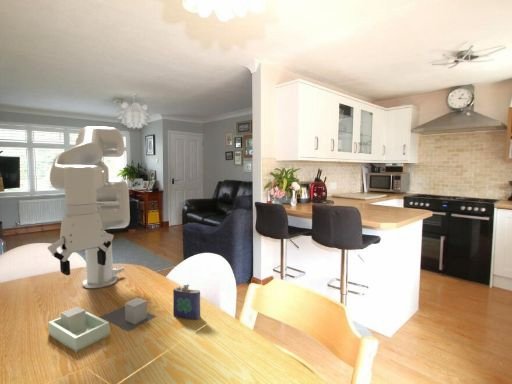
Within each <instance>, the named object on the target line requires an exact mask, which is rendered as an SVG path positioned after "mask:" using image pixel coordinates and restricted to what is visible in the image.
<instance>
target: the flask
mask: <svg viewBox="0 0 512 384" xmlns="http://www.w3.org/2000/svg"><path fill="white" fill-rule="evenodd" d="M189 287H190V284H188V283H187V284H183V287H181V286H178V287H175V288H173V305H172V306H173V317H174V318H175V317H176V318H178V319H183V320H195V321H196V320H199V319H201V317H202V316H201V291H200V290H198V289H189Z"/></svg>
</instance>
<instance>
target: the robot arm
mask: <svg viewBox="0 0 512 384" xmlns="http://www.w3.org/2000/svg"><path fill="white" fill-rule="evenodd" d="M124 153H125V142H124V136H123V134H122V133H121V131H120V130H119V129H118V128H117V127H112V126H110V127H109V126H91V125H90V126H85V127H83V128H81V129H80V130H79V132H78V135H77V138H76V139H75V146H73V147H71V148H68V149H67V150H64V151H62V152H61V153H59V154H58V155H56V157H55V158H54V160H53V162H52V166H51V169H50V171H49V181H50V185H51V186H52V188H54V189H55V190H56V191H57V190H58V191H64V199H65V215H63V216H62V217H61V218H62V219H61V222H60V223H61V224H60V225H61V226H60V233H59V239H57V240H56V241H55V242H53V243H52V244H50V245H49V246H48V247H47V250H48V252H49V253H50V254H51V255H52V257H54V258H56V259H57V260H59V267H60V269H59V270H60V272H61V273H62V275H65V276H70V275H71V265H70V264H71V263H70V260H68V259H69V258H70V256H72V254H73V253H74V254H75V253H79V252H83V251H85V268H86V279H84V280H83V281H82V287H84V288H86V289H101V288H106V287H109V286H111V285H113V284H115V283H117V281H118V276H117V275H118V274H121V273H123V272H125V269H124V267H120V268H117V267H115V268H114V266H113V265H114V264H113V239H114V236H115V235H114V234H112V233H109V232H107V231H106V230H111V229H112V230H113V229H125V228H127V227H128V226H129V225H130V221H131V216H130V215H131V213H130V193H129V191H130V190H129V184H128V183H127V182H126V180H124V179H110V175H109V167H108V166H107V165H106V164H105V162H104V161H103V157H104V158H105V157H106V158H108V157H109V158H120V157H122V156H123V155H124ZM103 203H108V204H110V203H116V204H114V205H113V204H112V205H111V204H110V205H108V204H107V205H102V204H103ZM59 247H60V250H62V251H61V252H60V253H59V251H58V250H57V249H58V248H59Z"/></svg>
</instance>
